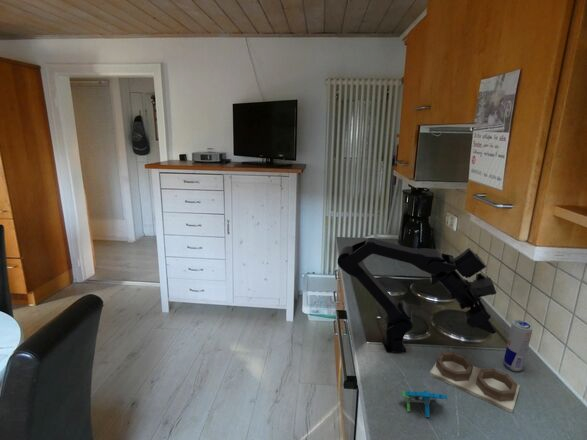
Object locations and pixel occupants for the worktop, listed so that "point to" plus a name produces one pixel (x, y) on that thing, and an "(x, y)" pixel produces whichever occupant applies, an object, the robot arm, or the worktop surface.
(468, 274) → the robot arm
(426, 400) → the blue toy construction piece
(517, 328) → the beverage can
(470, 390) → the socket plate
